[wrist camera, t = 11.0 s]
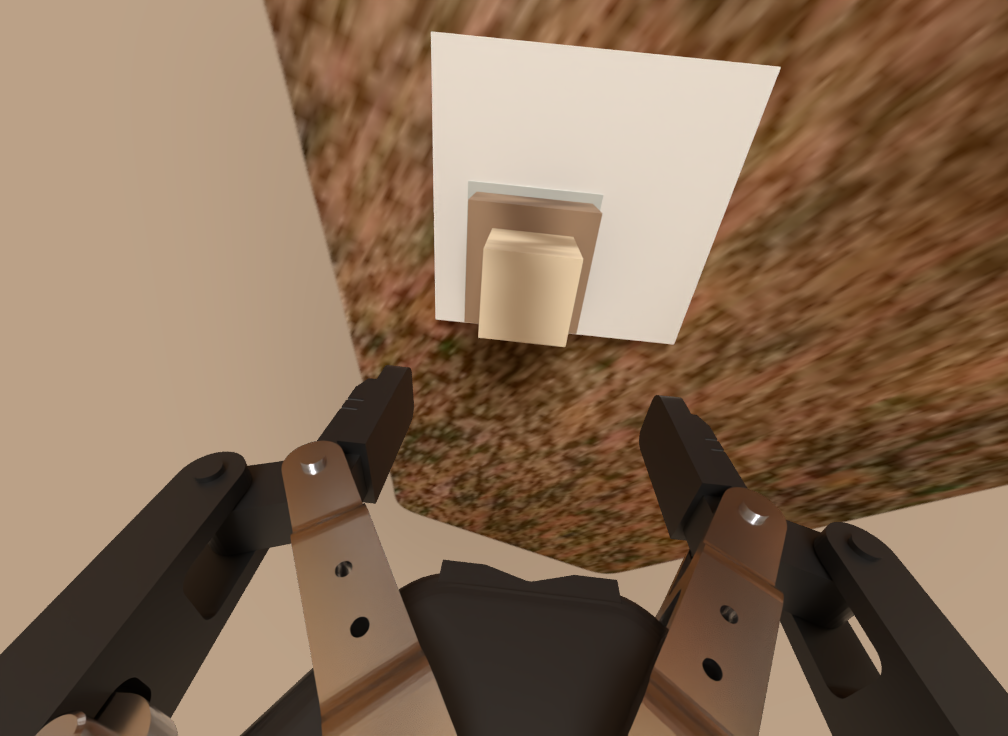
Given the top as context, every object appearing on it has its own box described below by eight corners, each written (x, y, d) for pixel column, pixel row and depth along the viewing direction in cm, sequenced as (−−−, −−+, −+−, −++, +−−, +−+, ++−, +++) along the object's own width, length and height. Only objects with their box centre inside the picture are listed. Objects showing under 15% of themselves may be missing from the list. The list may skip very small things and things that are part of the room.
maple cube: (573, 236, 22) (583, 259, 18) (559, 312, 25) (565, 346, 21) (492, 227, 22) (483, 248, 18) (487, 304, 25) (478, 337, 21)
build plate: (771, 69, 21) (782, 66, 20) (669, 338, 31) (674, 345, 30) (435, 35, 21) (430, 31, 21) (438, 314, 31) (435, 319, 30)
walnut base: (592, 203, 25) (602, 213, 21) (571, 311, 29) (576, 334, 26) (476, 191, 25) (468, 199, 21) (472, 301, 29) (464, 322, 26)
